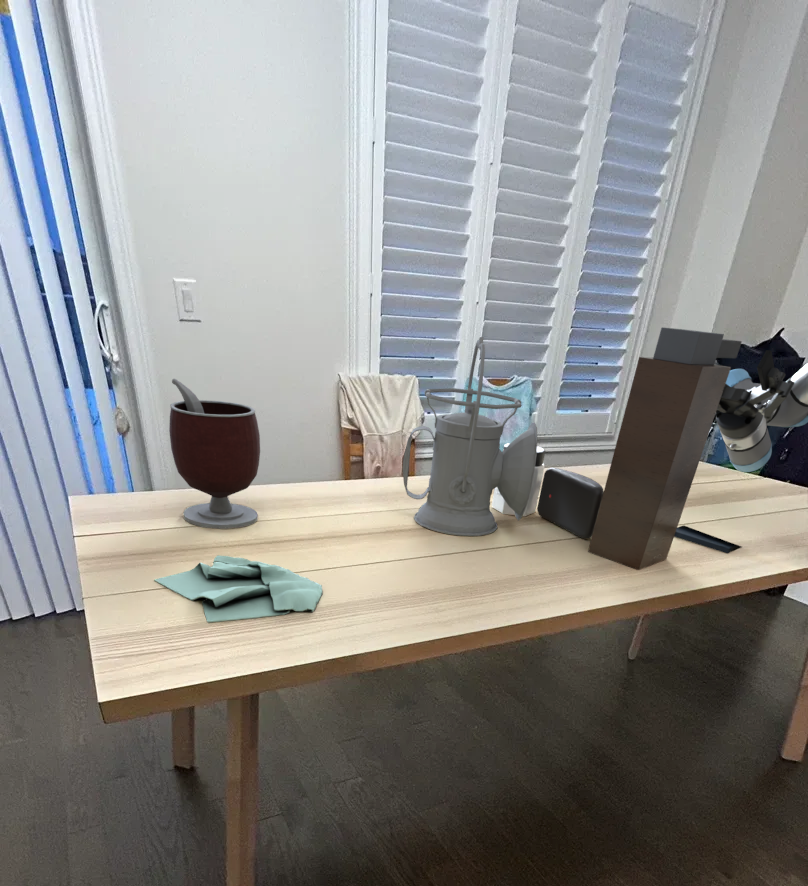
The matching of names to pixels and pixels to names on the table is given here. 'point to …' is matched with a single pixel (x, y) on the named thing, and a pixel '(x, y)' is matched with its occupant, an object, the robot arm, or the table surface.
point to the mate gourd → (215, 456)
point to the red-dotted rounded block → (570, 501)
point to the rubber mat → (705, 539)
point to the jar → (503, 507)
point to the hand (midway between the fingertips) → (721, 353)
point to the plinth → (656, 459)
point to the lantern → (473, 464)
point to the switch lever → (694, 347)
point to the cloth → (244, 589)
